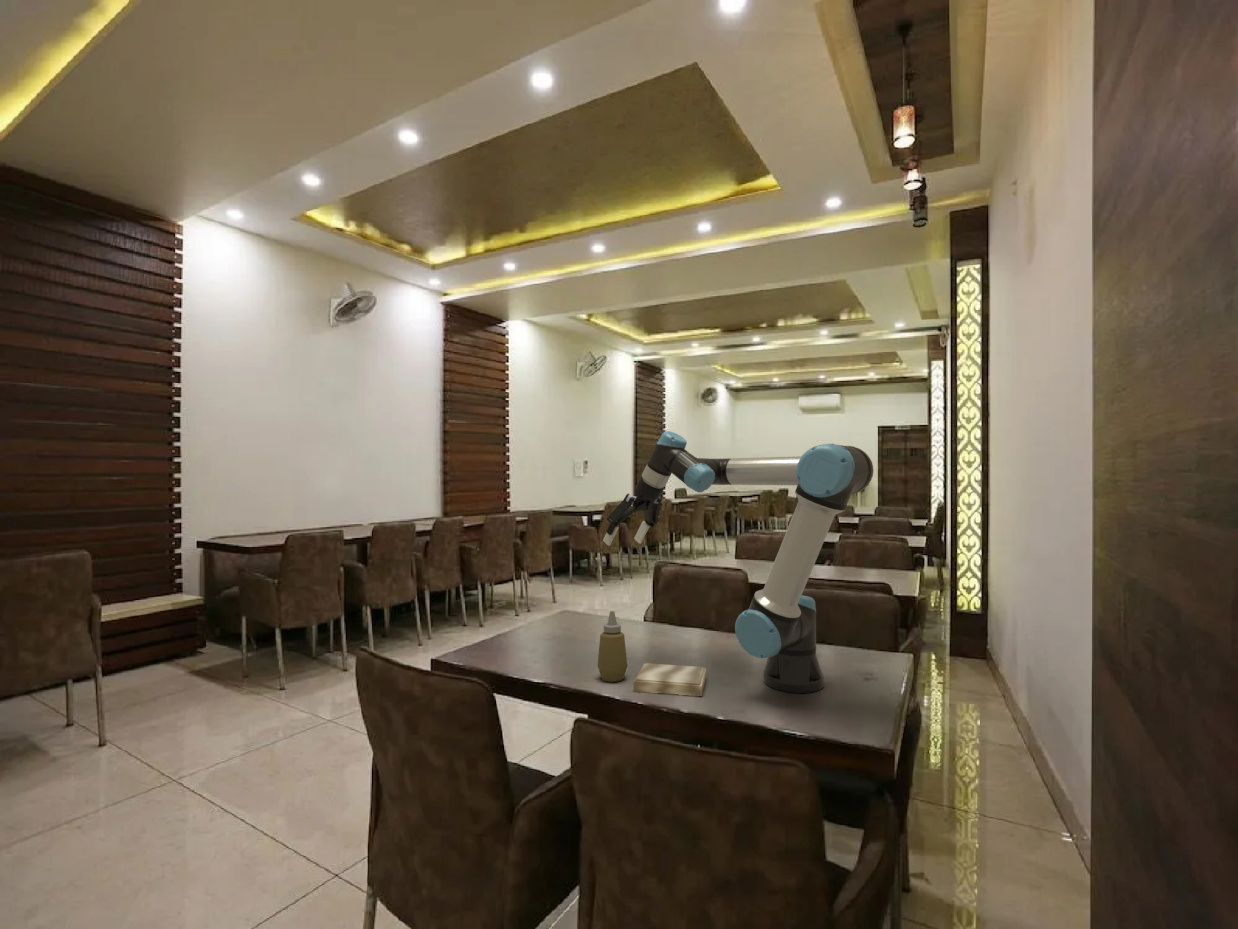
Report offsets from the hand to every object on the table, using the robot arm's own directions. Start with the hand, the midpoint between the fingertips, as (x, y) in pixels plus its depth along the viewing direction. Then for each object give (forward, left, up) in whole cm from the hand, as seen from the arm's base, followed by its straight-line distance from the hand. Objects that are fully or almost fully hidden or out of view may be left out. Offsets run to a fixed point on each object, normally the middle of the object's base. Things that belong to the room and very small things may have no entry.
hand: (622, 542), depth 176 cm
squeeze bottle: (-1, +18, -35) cm, 39 cm away
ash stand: (-17, +19, -35) cm, 43 cm away
